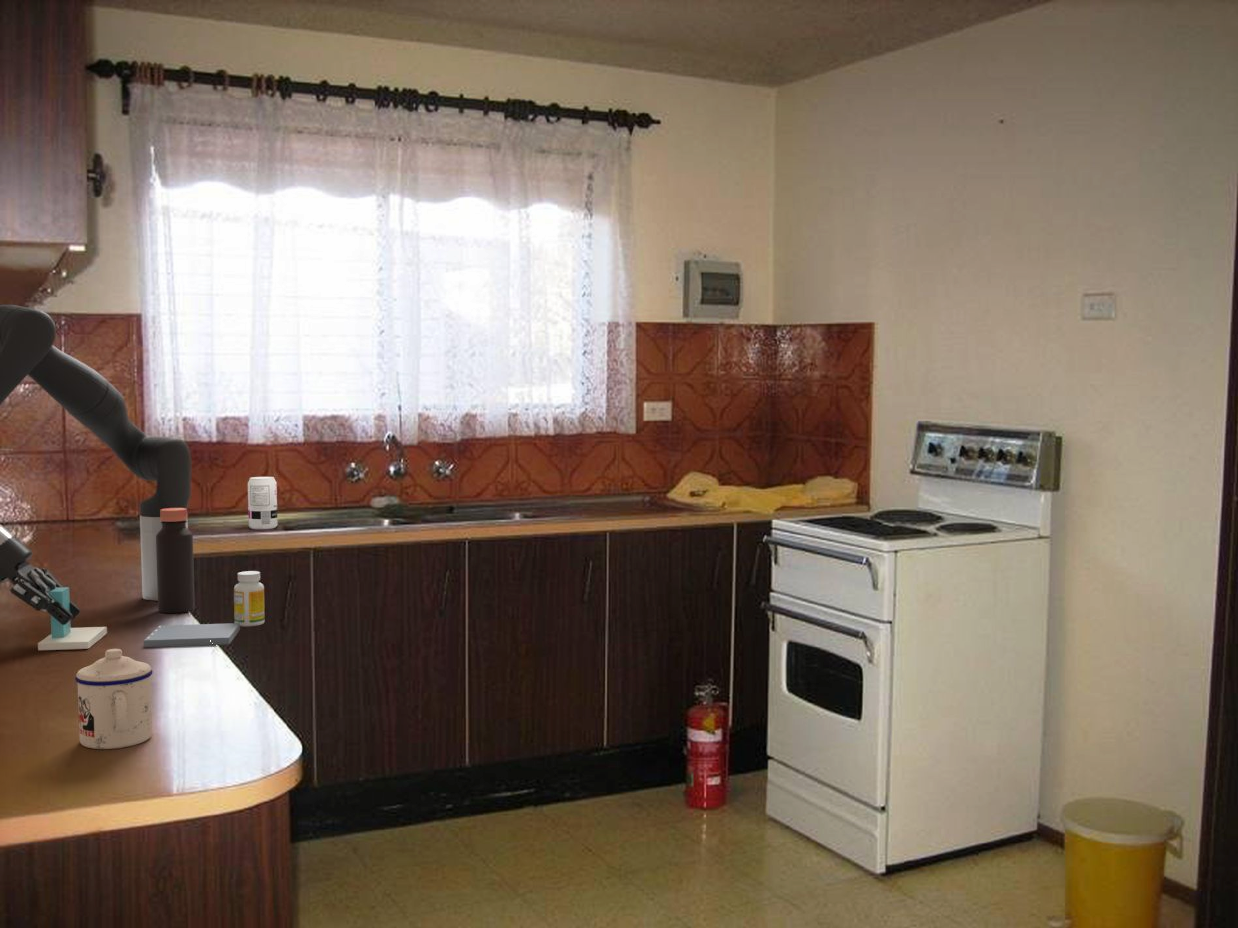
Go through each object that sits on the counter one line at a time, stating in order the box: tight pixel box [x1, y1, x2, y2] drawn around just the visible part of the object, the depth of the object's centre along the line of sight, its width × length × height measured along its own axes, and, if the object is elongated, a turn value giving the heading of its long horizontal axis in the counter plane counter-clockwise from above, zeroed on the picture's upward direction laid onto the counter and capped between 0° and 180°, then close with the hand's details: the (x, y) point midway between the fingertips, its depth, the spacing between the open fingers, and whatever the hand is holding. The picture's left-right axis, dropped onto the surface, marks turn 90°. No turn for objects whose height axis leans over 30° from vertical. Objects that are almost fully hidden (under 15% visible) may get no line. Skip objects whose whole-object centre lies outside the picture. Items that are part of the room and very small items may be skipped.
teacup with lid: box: [74, 648, 153, 750], centre depth 155 cm, size 12×9×12 cm
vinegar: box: [156, 508, 196, 615], centre depth 238 cm, size 7×7×20 cm
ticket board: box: [143, 622, 241, 648], centre depth 215 cm, size 12×14×1 cm
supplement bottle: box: [233, 570, 265, 627], centre depth 226 cm, size 5×5×10 cm
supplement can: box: [247, 476, 279, 531], centre depth 362 cm, size 8×8×15 cm
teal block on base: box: [37, 586, 108, 651], centre depth 211 cm, size 12×8×9 cm, turn 9°
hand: (72, 617), depth 211 cm, fingers closed on teal block on base, 4 cm apart
